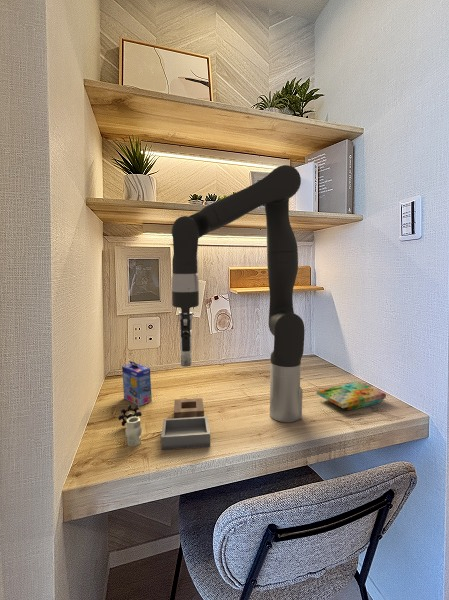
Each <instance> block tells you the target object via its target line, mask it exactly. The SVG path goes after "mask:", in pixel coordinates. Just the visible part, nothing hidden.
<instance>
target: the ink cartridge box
mask: <svg viewBox="0 0 449 600" xmlns="http://www.w3.org/2000/svg"><path fill="white" fill-rule="evenodd" d="M128 361H129V364H125V365H122V367H121V369H122V387H123V388H122V390H123V391H122V392H123V399H124V400H126V401H128V402H130V403H132V404H134V405H135V406H138V407H141V406H143V405H145V404H149V403H152V401H153V398H152V397H153V396H152V395H153V394H152V381H151V379H152V377H151V368H150V367H148V366H144V365H141V364H139V363H136V362H135V361H132V360H128Z"/></svg>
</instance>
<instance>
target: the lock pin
mask: <svg viewBox="0 0 449 600" xmlns="http://www.w3.org/2000/svg"><path fill="white" fill-rule="evenodd" d="M179 332H180V333H179V336H180V339H179V341H180V342H179V343H180V348H179V349H180V366H181V367H191V366H192V365H193V359H192V358H193V356H192V355H193V354H192V349H193V348H192V347H193V346H192V345H193V344H192V342H193V341H192V336H191V337H190V351H187V352H183V351H182V338H181V330H180V331H179ZM183 333H188V331H183ZM190 334H191V335H192V329H191V330H190Z"/></svg>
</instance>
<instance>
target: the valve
mask: <svg viewBox="0 0 449 600" xmlns="http://www.w3.org/2000/svg"><path fill="white" fill-rule="evenodd" d="M131 411H132V412H134V414H133V413H132V412H131ZM128 412H129V413H128ZM120 413H121V414H119V415H118V417H117V418H118V421H121V420H122V421H121V423H120V424H121V426H122V427H124V426H126V427H125V430H124V431H125V437H126V439H127V440H126V442H127V446H128V447H137V446H138V445H141V444H142V439H141V438H142V437H141V435H142V432H143V431H142V430H143V429H142V426H141V419H140V418H141V417H142V415H143V413H142V412H141V411H140V410H139V406H138V405H135V406H134V407H133V406H132V405H131V404H128V405H127V409H125V408H124V407H123V408H121V409H120ZM125 418H126V419H125Z"/></svg>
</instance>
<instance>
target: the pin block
mask: <svg viewBox="0 0 449 600" xmlns="http://www.w3.org/2000/svg"><path fill="white" fill-rule="evenodd" d="M173 404H174V405H173V419H174V418H190V417H205V407H204V401H203V398H201V397H198V398H184V399H183V398H181V399H178V398H177V399H174V403H173Z"/></svg>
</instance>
